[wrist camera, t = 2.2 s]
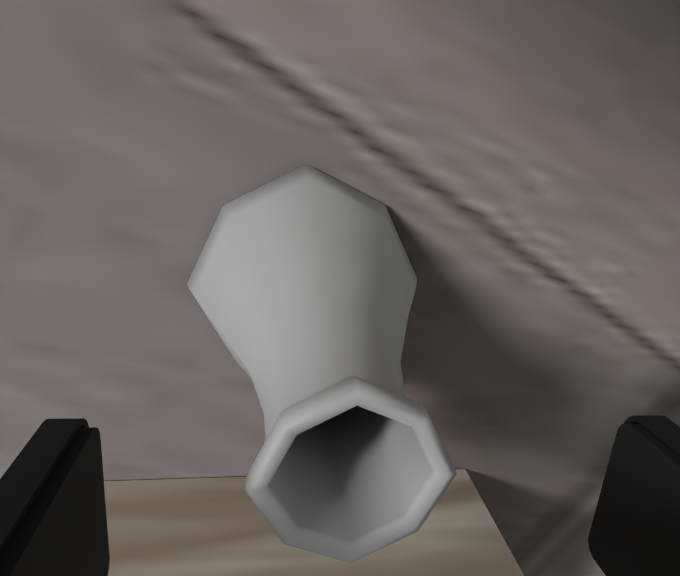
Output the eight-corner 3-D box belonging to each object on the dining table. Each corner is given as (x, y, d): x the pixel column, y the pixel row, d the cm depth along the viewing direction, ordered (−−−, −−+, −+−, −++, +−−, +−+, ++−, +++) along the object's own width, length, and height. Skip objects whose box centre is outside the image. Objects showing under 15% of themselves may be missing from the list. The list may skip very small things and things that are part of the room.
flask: (450, 275, 18) (649, 459, 9) (304, 409, 19) (345, 701, 10) (305, 120, 16) (368, 147, 6) (146, 283, 17) (3, 512, 7)
